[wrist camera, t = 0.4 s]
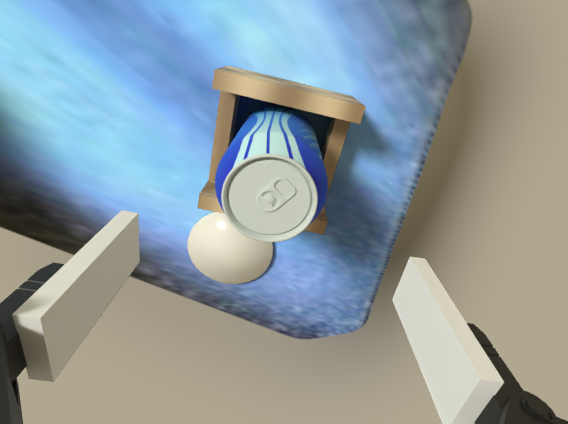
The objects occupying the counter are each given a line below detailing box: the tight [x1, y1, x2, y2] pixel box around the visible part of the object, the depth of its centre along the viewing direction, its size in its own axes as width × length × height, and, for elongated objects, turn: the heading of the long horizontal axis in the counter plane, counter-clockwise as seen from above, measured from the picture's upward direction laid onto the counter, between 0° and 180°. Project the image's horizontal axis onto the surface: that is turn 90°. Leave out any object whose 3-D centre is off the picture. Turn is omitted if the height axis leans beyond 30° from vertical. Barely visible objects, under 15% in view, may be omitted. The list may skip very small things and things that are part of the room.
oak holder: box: [198, 66, 366, 235], centre depth 33 cm, size 13×13×7 cm
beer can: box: [215, 105, 328, 242], centre depth 29 cm, size 8×8×16 cm
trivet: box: [188, 212, 273, 284], centre depth 43 cm, size 11×11×1 cm
